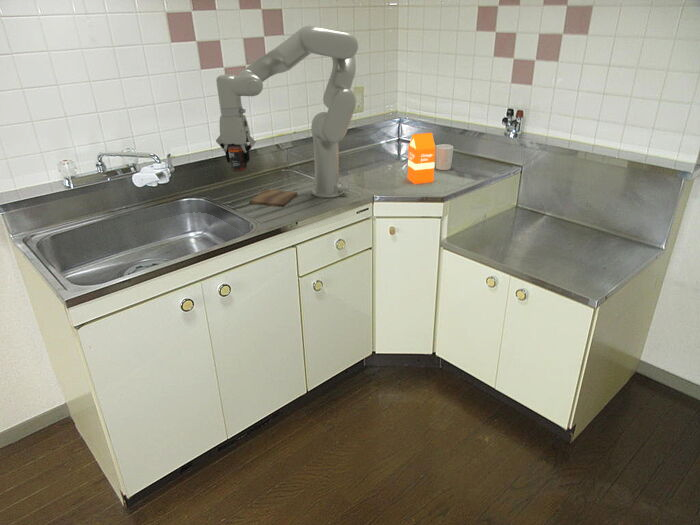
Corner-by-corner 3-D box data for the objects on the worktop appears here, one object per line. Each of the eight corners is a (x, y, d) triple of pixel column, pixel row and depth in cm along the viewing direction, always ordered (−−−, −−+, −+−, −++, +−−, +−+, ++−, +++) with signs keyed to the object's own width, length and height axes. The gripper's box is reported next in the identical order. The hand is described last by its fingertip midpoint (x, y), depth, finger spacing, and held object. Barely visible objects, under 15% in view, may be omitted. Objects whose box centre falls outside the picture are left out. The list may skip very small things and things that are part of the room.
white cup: (454, 167, 242) (456, 145, 238) (447, 171, 236) (449, 149, 232) (438, 164, 246) (440, 143, 242) (431, 169, 240) (432, 147, 236)
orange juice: (433, 181, 224) (436, 134, 215) (414, 184, 222) (416, 136, 213) (425, 176, 231) (428, 130, 222) (407, 178, 228) (408, 132, 219)
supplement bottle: (247, 166, 198) (243, 136, 193) (247, 171, 193) (243, 140, 188) (231, 167, 198) (227, 137, 193) (230, 172, 192) (226, 141, 187)
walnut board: (297, 194, 211) (297, 192, 211) (283, 206, 199) (283, 204, 199) (265, 191, 215) (265, 189, 214) (250, 203, 203) (249, 200, 202)
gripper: (258, 110, 187) (264, 160, 195) (215, 109, 191) (222, 157, 200) (249, 114, 180) (255, 166, 189) (204, 113, 185) (212, 163, 193)
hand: (238, 161), depth 194 cm, fingers closed on supplement bottle, 6 cm apart
